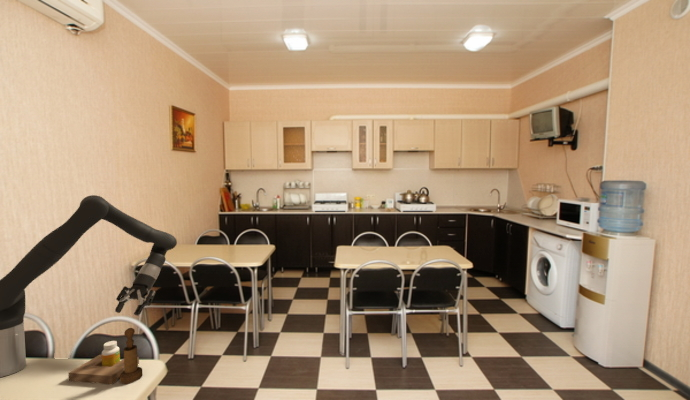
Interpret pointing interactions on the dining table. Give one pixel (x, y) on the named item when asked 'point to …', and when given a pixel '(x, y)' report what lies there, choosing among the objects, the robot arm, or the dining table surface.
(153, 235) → the robot arm
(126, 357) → the mortar and pestle
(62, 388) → the dining table surface
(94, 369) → the notched board
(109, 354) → the supplement bottle
